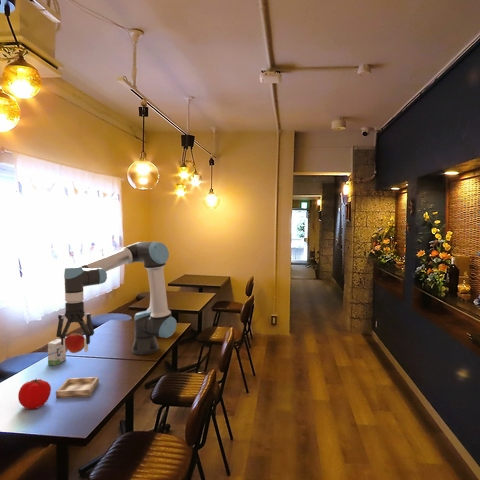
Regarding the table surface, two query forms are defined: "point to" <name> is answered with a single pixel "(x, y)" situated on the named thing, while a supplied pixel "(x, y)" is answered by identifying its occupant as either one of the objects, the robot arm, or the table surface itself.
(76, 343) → the apple
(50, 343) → the ink box
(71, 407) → the table surface
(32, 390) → the tomato
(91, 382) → the tray
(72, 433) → the table surface
